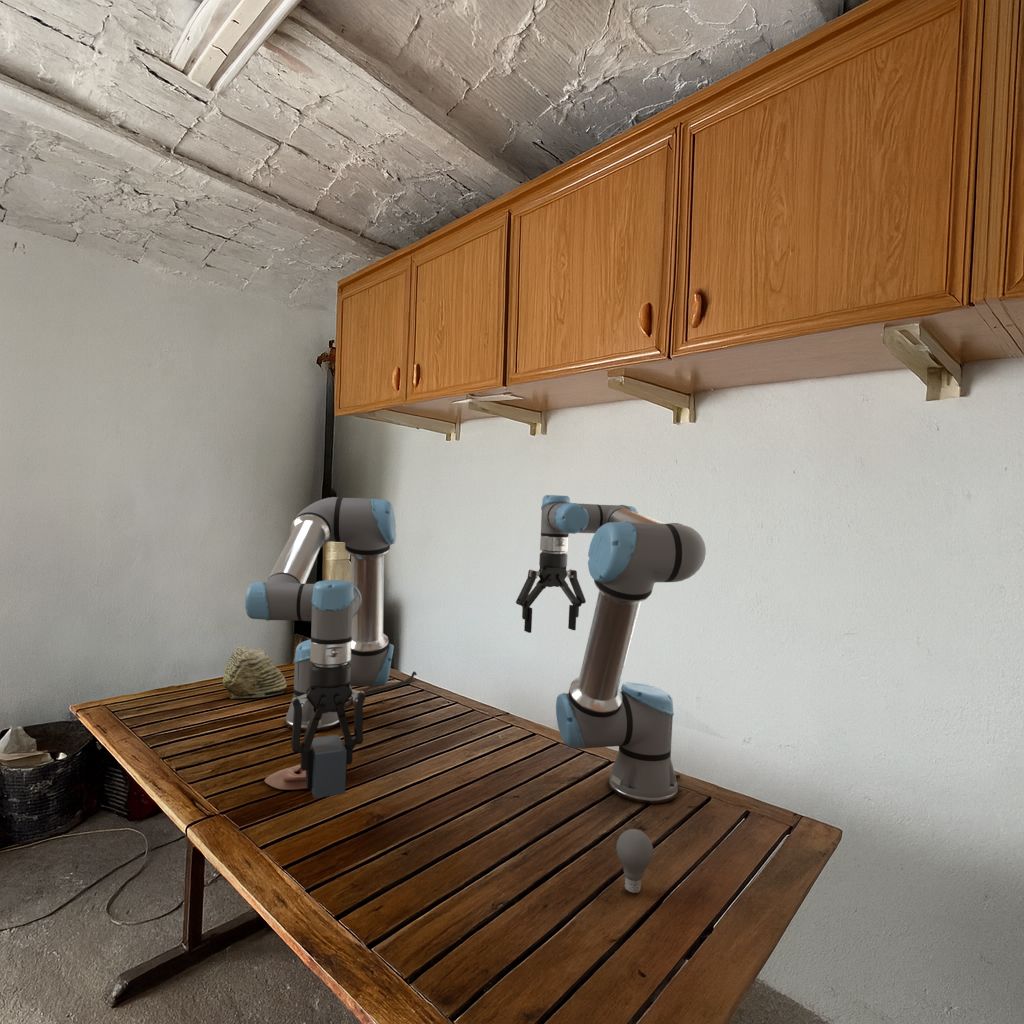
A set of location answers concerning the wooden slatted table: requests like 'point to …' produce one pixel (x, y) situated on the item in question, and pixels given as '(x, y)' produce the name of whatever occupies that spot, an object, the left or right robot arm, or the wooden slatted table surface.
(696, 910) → the wooden slatted table surface
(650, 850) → the light bulb
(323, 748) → the dark grey boxy piece
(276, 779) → the anatomical model
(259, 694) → the fossil
